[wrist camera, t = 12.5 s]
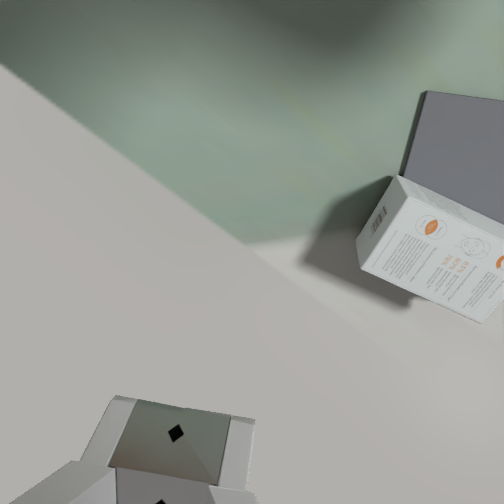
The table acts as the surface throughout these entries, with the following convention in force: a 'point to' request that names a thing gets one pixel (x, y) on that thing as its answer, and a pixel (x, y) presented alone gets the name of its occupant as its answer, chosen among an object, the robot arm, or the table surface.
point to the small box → (435, 249)
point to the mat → (460, 151)
